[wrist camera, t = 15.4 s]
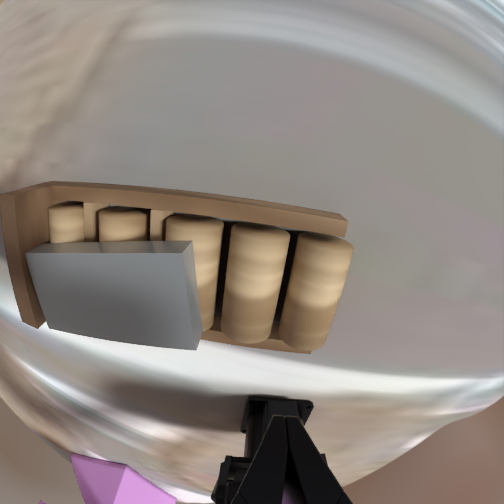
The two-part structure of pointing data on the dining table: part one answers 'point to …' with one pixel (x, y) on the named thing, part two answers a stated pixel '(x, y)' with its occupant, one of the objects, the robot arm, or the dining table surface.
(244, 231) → the roller bed
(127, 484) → the chair
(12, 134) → the dining table surface
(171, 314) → the slab
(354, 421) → the dining table surface
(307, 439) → the robot arm
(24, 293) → the stop wall
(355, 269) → the dining table surface
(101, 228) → the roller
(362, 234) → the dining table surface
